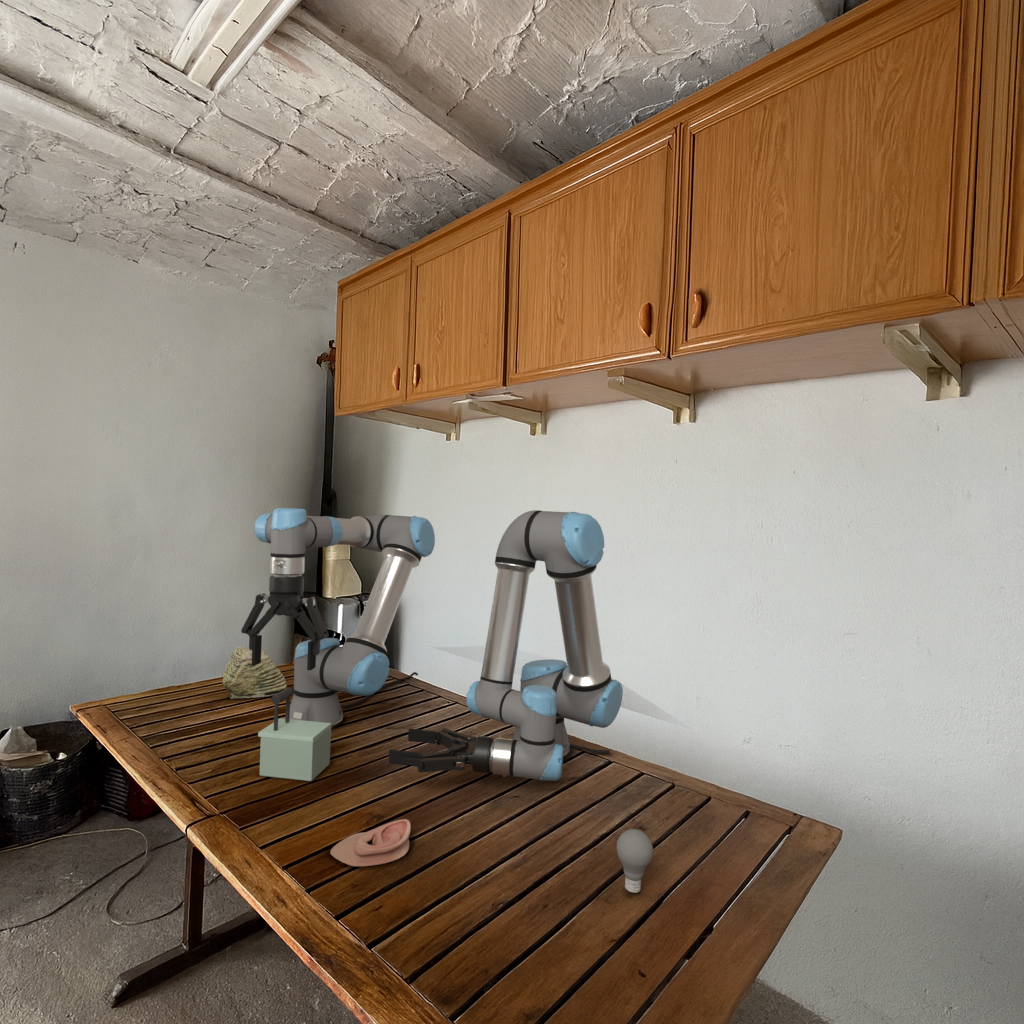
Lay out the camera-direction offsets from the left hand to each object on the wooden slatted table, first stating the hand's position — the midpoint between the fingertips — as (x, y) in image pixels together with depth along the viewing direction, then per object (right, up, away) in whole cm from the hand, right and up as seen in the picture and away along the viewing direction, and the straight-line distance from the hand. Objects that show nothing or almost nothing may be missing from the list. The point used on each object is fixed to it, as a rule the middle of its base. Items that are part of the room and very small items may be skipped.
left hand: (283, 666), depth 146 cm
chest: (+3, -24, 0) cm, 24 cm away
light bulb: (+73, -28, -41) cm, 88 cm away
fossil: (-28, -22, +52) cm, 62 cm away
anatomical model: (+27, -25, -32) cm, 49 cm away
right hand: (+28, -17, -4) cm, 32 cm away
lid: (+3, -15, 0) cm, 15 cm away
